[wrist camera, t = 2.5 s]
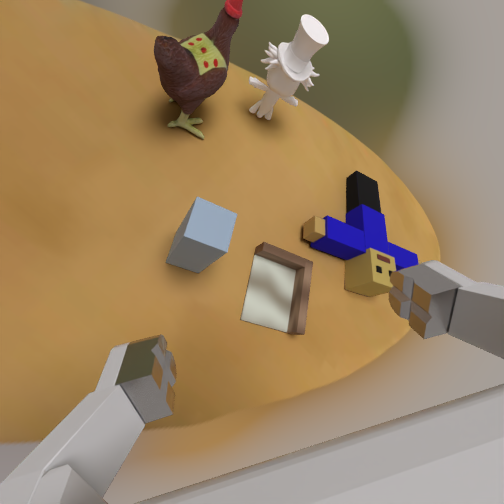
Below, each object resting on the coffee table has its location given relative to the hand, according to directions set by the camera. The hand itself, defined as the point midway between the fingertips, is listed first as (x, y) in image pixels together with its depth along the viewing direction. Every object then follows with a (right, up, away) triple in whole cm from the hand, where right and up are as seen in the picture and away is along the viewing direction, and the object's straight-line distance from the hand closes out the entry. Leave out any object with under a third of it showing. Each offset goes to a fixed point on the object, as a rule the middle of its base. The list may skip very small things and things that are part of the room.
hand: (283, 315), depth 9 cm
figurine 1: (-14, +27, +36) cm, 48 cm away
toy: (+22, +6, +49) cm, 54 cm away
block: (-11, +2, +30) cm, 32 cm away
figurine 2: (0, +30, +45) cm, 54 cm away
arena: (+2, -3, +35) cm, 35 cm away
